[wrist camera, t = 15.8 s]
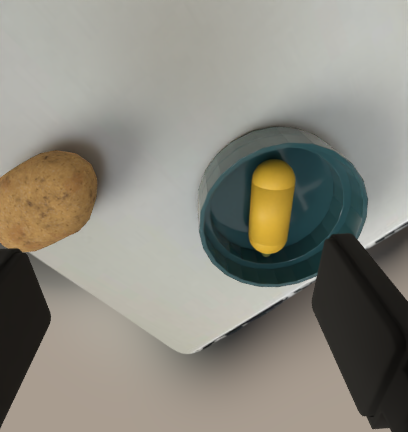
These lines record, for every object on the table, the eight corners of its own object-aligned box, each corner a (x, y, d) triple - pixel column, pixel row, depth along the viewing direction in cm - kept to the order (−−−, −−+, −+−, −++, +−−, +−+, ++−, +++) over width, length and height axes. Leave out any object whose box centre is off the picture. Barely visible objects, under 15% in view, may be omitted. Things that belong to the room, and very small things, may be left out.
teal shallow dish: (228, 103, 35) (236, 117, 29) (371, 153, 38) (403, 174, 33) (180, 238, 43) (179, 268, 38) (300, 268, 47) (315, 299, 42)
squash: (252, 152, 37) (253, 168, 33) (294, 153, 37) (301, 169, 33) (247, 242, 44) (247, 265, 40) (282, 244, 44) (287, 267, 39)
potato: (129, 178, 39) (116, 210, 32) (56, 238, 43) (31, 278, 36) (65, 116, 34) (34, 137, 28) (-9, 189, 39) (-51, 223, 32)
